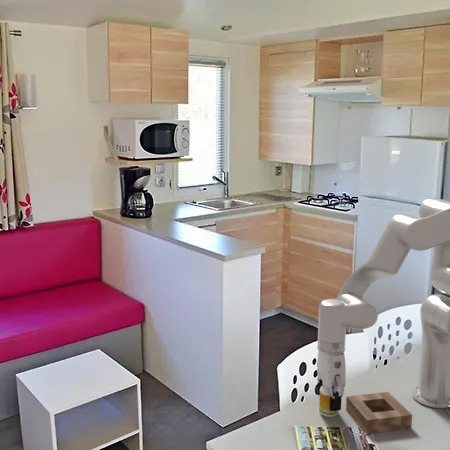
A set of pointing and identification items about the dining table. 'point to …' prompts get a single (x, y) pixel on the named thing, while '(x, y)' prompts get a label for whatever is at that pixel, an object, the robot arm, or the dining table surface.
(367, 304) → the robot arm
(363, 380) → the dining table surface
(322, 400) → the supplement bottle
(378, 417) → the socket block
